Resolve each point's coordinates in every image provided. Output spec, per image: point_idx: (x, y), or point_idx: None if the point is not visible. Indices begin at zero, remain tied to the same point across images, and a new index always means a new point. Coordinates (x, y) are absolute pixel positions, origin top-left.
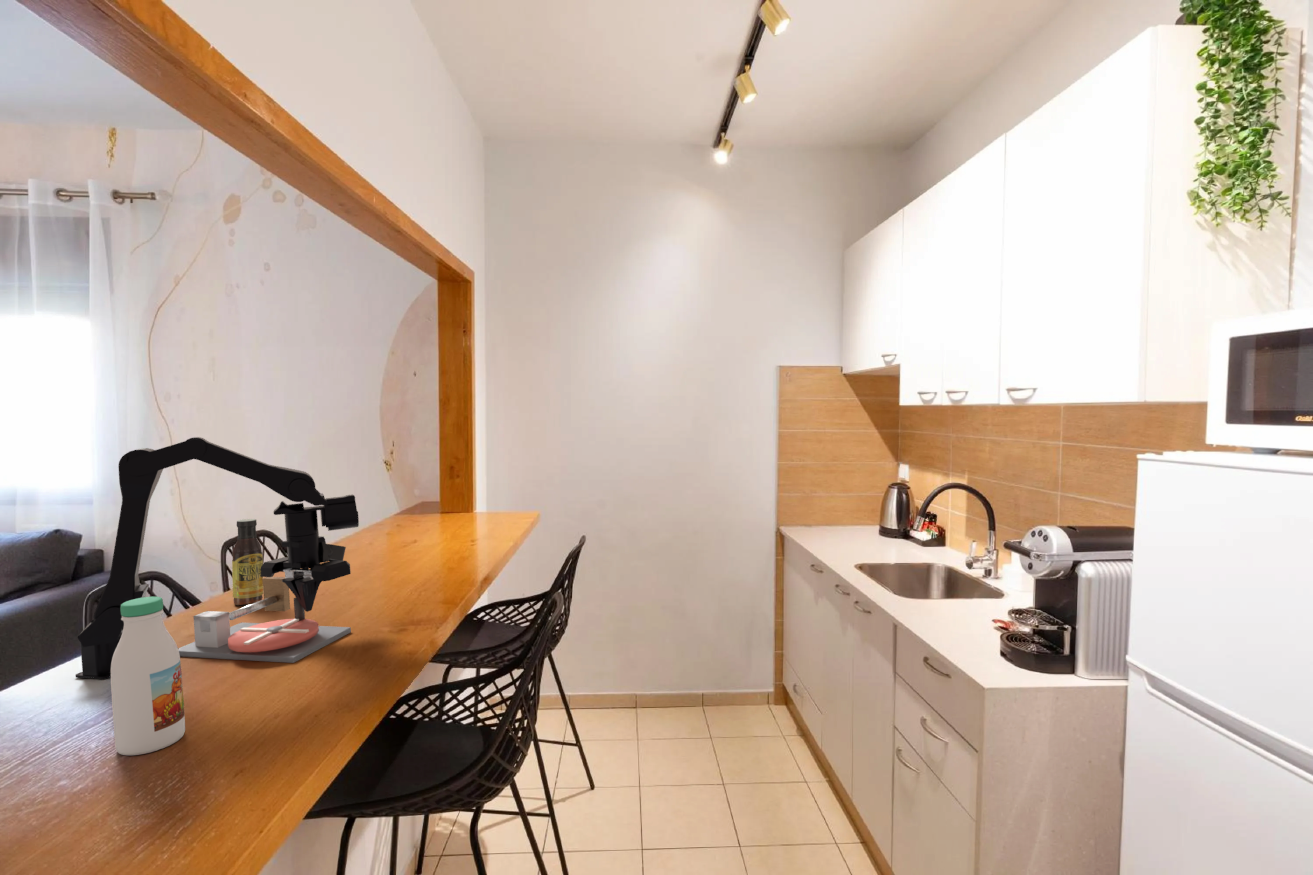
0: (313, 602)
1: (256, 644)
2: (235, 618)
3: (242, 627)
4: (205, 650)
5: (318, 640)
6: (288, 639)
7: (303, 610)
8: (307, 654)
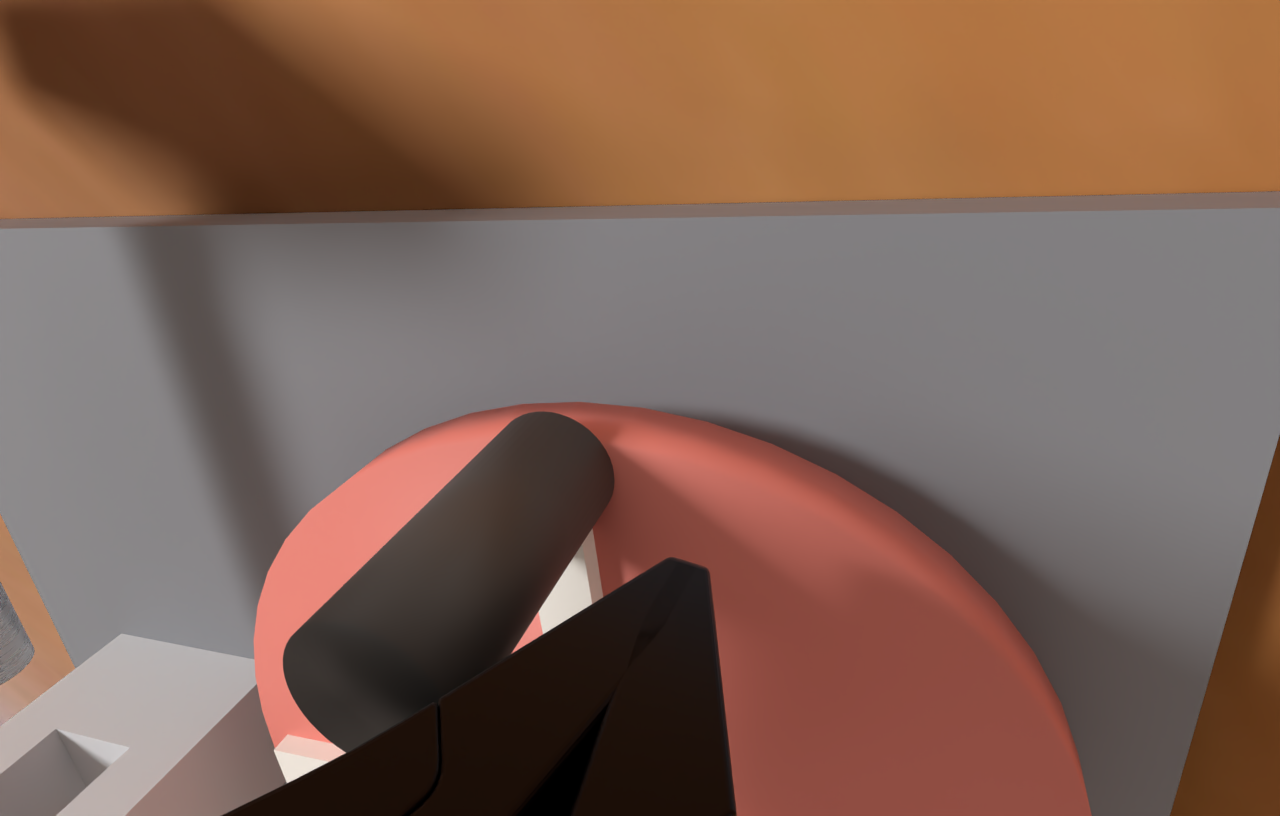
0: (715, 657)
1: None
2: (26, 635)
3: (12, 358)
4: None
5: (1097, 696)
6: None
7: (561, 545)
8: None
